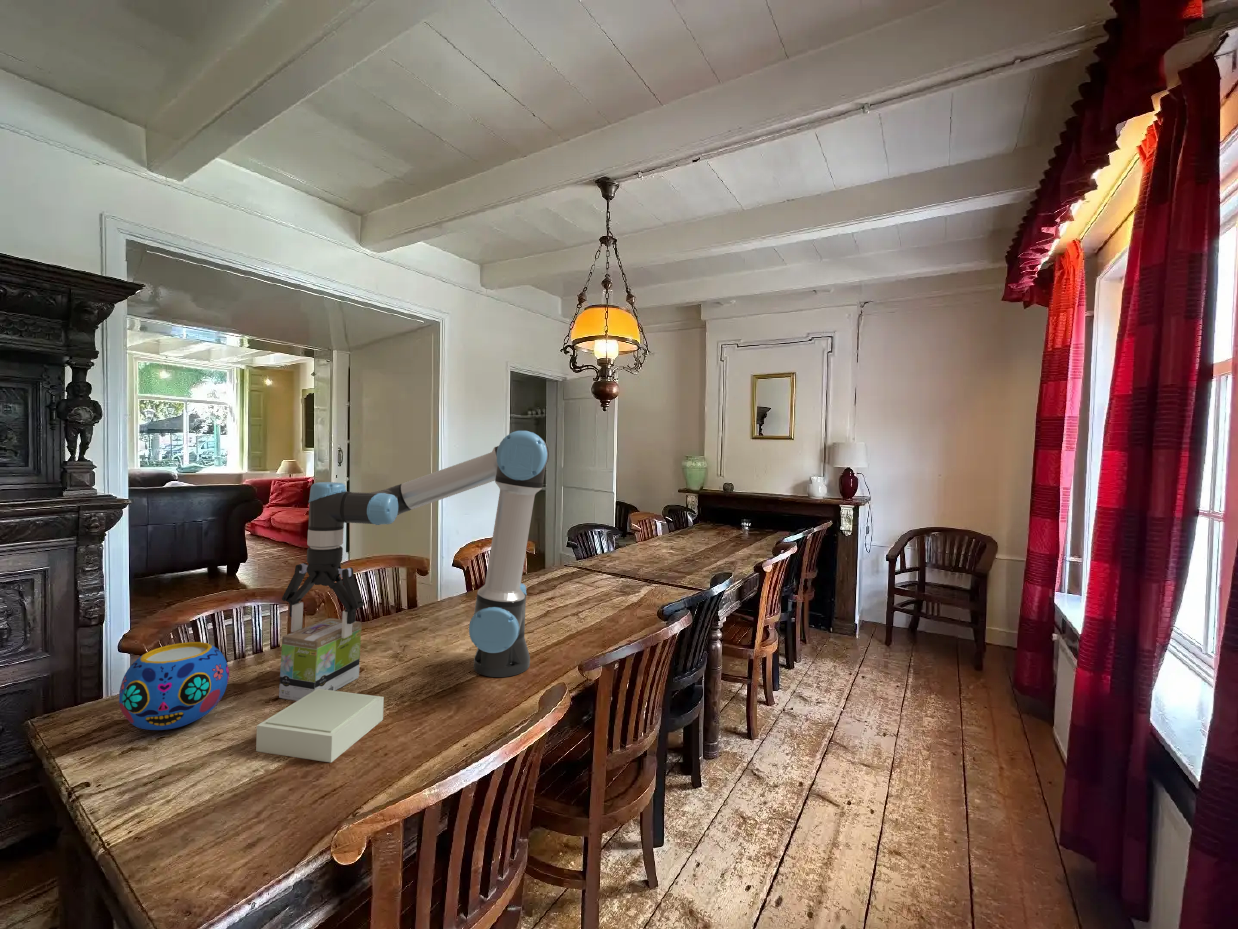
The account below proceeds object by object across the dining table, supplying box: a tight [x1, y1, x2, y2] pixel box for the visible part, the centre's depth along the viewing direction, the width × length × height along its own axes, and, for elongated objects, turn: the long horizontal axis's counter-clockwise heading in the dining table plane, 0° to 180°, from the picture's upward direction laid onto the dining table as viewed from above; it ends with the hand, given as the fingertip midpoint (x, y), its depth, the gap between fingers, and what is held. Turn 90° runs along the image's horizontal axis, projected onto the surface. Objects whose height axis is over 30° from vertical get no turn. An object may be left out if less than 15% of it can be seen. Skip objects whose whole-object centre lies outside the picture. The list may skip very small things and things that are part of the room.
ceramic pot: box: [118, 641, 230, 731], centre depth 108 cm, size 18×18×15 cm
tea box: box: [278, 617, 362, 702], centre depth 126 cm, size 15×10×15 cm
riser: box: [255, 689, 385, 763], centre depth 106 cm, size 16×16×5 cm
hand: (321, 633), depth 126 cm, fingers open, 13 cm apart
